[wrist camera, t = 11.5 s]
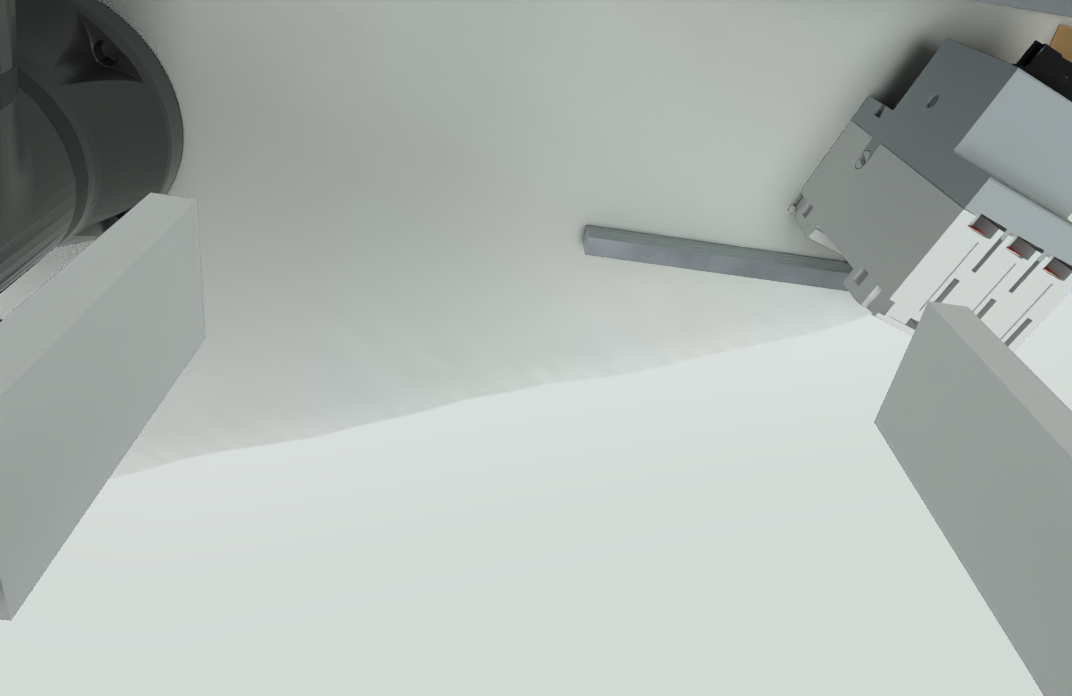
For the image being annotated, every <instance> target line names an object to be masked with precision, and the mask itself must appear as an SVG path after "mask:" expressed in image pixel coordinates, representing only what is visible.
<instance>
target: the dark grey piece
mask: <svg viewBox="0 0 1072 696" xmlns="http://www.w3.org/2000/svg"><path fill="white" fill-rule="evenodd" d="M976 1H981V2H987V3H993V4H999V5H1005V6H1010V7H1016V8H1022V9H1028V10H1033V11H1039V12H1045V13H1051V14H1057V15H1062V16H1068V17H1072V0H976ZM583 244H584V251H585V254H586V255H593V256H600V257H607V258H614V259H621V260H629V261H636V262H643V263H650V264H657V265H664V266H672V267H679V268H686V269H693V270H700V271H707V272H715V273H722V274H729V275H736V276H743V277H750V278H758V279H765V280H772V281H779V282H786V283H794V284H801V285H808V286H815V287H822V288H829V289H837V290H844V291H848V289H847V288H846V287H845V285H844V284H843V282H844V280H845V279H846V278H847V277H848V275H849V274H850V273H851V272H852V270H853V268H852V266H851V265H850V264H849V263H848V262H842V261H835V260H828V259H821V258H814V257H807V256H800V255H793V254H786V253H779V252H772V251H765V250H758V249H751V248H744V247H737V246H730V245H723V244H716V243H709V242H702V241H695V240H688V239H681V238H674V237H667V236H660V235H653V234H646V233H639V232H632V231H625V230H618V229H611V228H604V227H596V226H589V225H586V230H585V235H584V240H583Z"/></svg>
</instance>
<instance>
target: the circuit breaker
mask: <svg viewBox="0 0 1072 696" xmlns="http://www.w3.org/2000/svg"><path fill="white" fill-rule="evenodd" d="M853 121H854V122H853ZM800 193H801V194H802V195H803V198H802V199H801V200H800V202H799V203H798V205H797V206H794V205H793V204H791V205H790V206H789V208H788V209H787V210H788V211H789V212H790V213H792V214H794V215H795V218H794V219H795V220H796V222H797V223H798V224H799V226H800V227H801V228H802V230H803V231H804V232H805V234H806V235H807V236H808V237H809V238H810V239H812V240H814V241H816V242H818V243H820V244H822V245H824V246H825V247H827V248H829V249H831V250H833V251H835V252H837V253H839V254H841V255H842V256H843V257H844V258H845V259H846V260H847V261H848V263H849V264H850V265H851V266H852V268H853V270H852V272H851V273H850V274H849V275H848V277H847V278H846V279H845V280H844V282H843V284H844V285H845V287H846V288H847V289H848V291H849V292H850V293H851V295H852V296H853V297H854V299H855V300H856V301H857V302H858V303H859V304H860V305H862V306H864V307H866V308H867V309H869V310H870V311H871V312H872V315H873V316H875V317H877V318H878V319H880V320H882V321H884V322H886V323H888V324H890V325H892V326H894V327H896V328H898V329H900V330H902V331H904V332H906V333H908V334H910V335H912V336H913V334H914V332H915V330H916V327H917V325H918V323H919V321H920V319H921V316H922V314H923V312H924V310H925V307H926V305H927V303H928V301H931V302H938V303H945V304H952V305H959V306H967V307H969V308H970V309H971V310H972V311H973V313H974V314H975V315H976V316H977V317H978V318H979V319H980V320H981V321H982V322H983V323H984V324H985V325H986V326H987V327H988V328H989V329H990V330H991V331H992V332H993V333H994V334H995V335H996V336H997V337H998V338H999V339H1000V340H1001V341H1002V342H1003V343H1004V344H1005V345H1006V346H1007V347H1008V348H1009V349H1010V350H1011V351H1012V352H1014V351H1015V350H1016V349H1017V348H1018V347H1019V346H1020V345H1021V344H1022V343H1023V342H1024V341H1025V340H1026V338H1028V337H1029V336H1030V334H1031V333H1032V332H1033V331H1034V330H1035V329H1036V328H1037V327H1038V326H1039V325H1040V324H1041V323H1042V322H1043V321H1044V320H1045V319H1046V318H1047V317H1048V315H1050V313H1051V312H1052V311H1053V310H1054V309H1055V308H1056V307H1057V306H1058V305H1059V304H1060V303H1061V302H1062V301H1063V300H1064V298H1066V297H1067V296H1068V295H1069V293H1070V292H1071V291H1072V222H1070V221H1069V220H1067V219H1068V216H1069V215H1070V214H1071V213H1072V63H1071V62H1070V61H1068V60H1066V59H1065V58H1063V57H1062V54H1061V53H1059V52H1058V51H1056V50H1054V49H1053V48H1051V47H1050V46H1048V45H1047V44H1044V45H1043V44H1041V43H1040V42H1038V41H1036V40H1035V41H1034V43H1033V44H1032V45H1031V46H1030V48H1029V49H1028V50H1027V51H1026V52H1025V54H1024V55H1023V56H1022V57H1021V59H1020V60H1019V61H1018V62H1017V64H1013V65H1012V64H1010V63H1007V62H1005V61H1002V60H1000V59H997V58H995V57H992V56H990V55H987V54H985V53H983V52H980V51H978V50H975V49H973V48H970V47H968V46H965V45H963V44H960V43H958V42H956V41H953V40H951V39H948V38H947V39H946V40H945V41H944V43H943V44H942V45H941V47H940V48H939V49H938V51H937V52H936V53H935V55H934V56H933V57H932V59H931V60H930V61H929V63H928V64H927V65H926V67H925V68H924V69H923V71H922V72H921V74H920V75H919V76H918V78H917V79H916V80H915V82H914V83H913V84H912V86H911V87H910V88H909V90H908V91H907V92H906V94H905V95H904V96H903V98H902V99H901V101H900V102H899V103H898V105H897V106H896V107H895V109H894V110H893V109H891V108H889V107H887V106H886V105H884V104H882V103H881V102H879V101H877V100H876V99H874V98H872V97H871V96H868V97H867V99H866V100H865V101H864V103H863V104H862V106H861V107H860V108H859V110H858V111H857V113H856V114H855V115H854V117H853V118H852V120H851V121H850V122H849V124H848V125H847V127H846V128H845V129H844V131H843V132H842V134H841V135H840V136H839V138H838V139H837V141H836V142H835V143H834V145H833V146H832V148H831V149H830V150H829V152H828V153H827V155H826V156H825V157H824V159H823V160H822V162H821V163H820V164H819V166H818V167H817V169H816V170H815V171H814V173H813V174H812V176H811V177H810V178H809V180H808V181H807V183H806V184H805V185H804V187H803V188H802V190H801V191H800ZM809 212H810V213H809Z"/></svg>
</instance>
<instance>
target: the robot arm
mask: <svg viewBox="0 0 1072 696" xmlns="http://www.w3.org/2000/svg"><path fill="white" fill-rule="evenodd" d="M182 146H183V130H182V121H181V116H180V111H179V107H178V103H177V100H176V97H175V94H174V91H173V89H172V86H171V84H170V82H169V80H168V78H167V76H166V74H165V72H164V70H163V68H162V66H161V65H160V63H159V62H158V60H157V58H156V57H155V55H154V54H153V53H152V51H151V50H150V49H149V47H148V46H147V45H146V43H145V42H144V41H143V40H142V39H141V37H140V36H139V35H138V34H137V33H136V32H135V31H134V30H133V29H132V28H131V27H130V26H129V25H128V24H127V23H126V22H125V21H124V20H122V19H121V18H120V17H119V16H118V15H116V14H115V13H114V12H113V11H111V10H110V9H109V8H107V7H106V6H104V5H103V4H101V3H100V2H98V1H97V0H0V293H2V292H3V291H4V290H5V289H6V288H8V287H9V286H10V285H11V284H12V283H14V282H15V281H16V280H17V279H18V278H19V277H21V276H22V275H23V274H24V273H25V272H27V271H28V270H29V269H30V268H31V267H33V266H34V265H35V264H36V263H37V262H38V261H40V260H41V259H42V258H43V257H44V256H46V255H47V254H48V253H49V252H50V251H51V250H53V249H54V248H55V247H58V246H64V245H70V244H75V243H81V242H87V241H92V240H95V241H94V242H93V243H92V244H90V245H89V246H88V247H87V248H86V249H85V250H83V251H82V252H81V253H80V254H79V255H78V256H76V257H75V258H74V259H73V260H72V261H71V262H69V263H68V264H67V265H66V266H65V267H64V268H62V269H61V270H60V271H59V272H58V273H57V274H56V275H54V276H53V277H52V278H51V279H50V280H49V281H47V282H46V283H45V284H44V285H43V286H42V287H40V288H39V289H38V290H37V291H36V292H35V293H33V294H32V295H31V296H30V297H29V298H28V299H26V300H25V301H24V302H23V303H22V304H21V305H19V306H18V307H17V308H16V309H15V310H14V311H13V312H11V313H10V314H9V315H8V316H7V317H6V318H4V319H3V320H0V619H1V620H12V618H13V617H14V615H15V614H16V613H17V611H18V610H19V608H20V607H21V605H22V604H23V602H24V601H25V599H26V598H27V596H28V595H29V594H30V592H31V591H32V589H33V588H34V586H35V585H36V583H37V582H38V580H39V579H40V577H41V576H42V575H43V573H44V572H45V570H46V569H47V567H48V566H49V565H50V563H51V561H52V560H53V559H54V557H55V556H56V554H57V553H58V551H59V550H60V549H61V547H62V546H63V544H64V543H65V541H66V540H67V538H68V537H69V535H70V534H71V533H72V531H73V530H74V528H75V526H76V525H77V524H78V522H79V521H80V519H81V518H82V517H83V515H84V514H85V512H86V511H87V509H88V508H89V506H90V505H91V503H92V502H93V501H94V499H95V498H96V496H97V495H98V493H99V492H100V490H101V489H102V487H103V486H104V485H105V483H106V482H107V480H108V479H109V477H110V476H111V474H112V473H113V471H114V470H115V469H116V467H117V466H118V464H119V463H120V461H121V460H122V458H123V457H124V455H125V454H126V453H127V451H128V450H129V448H130V447H131V445H132V444H133V442H134V441H135V439H136V438H137V437H138V435H139V434H140V432H141V431H142V429H143V428H144V426H145V425H146V423H147V422H148V421H149V419H150V418H151V416H152V415H153V413H154V412H155V410H156V409H157V407H158V406H159V405H160V403H161V402H162V400H163V399H164V397H165V396H166V394H167V393H168V391H169V390H170V389H171V387H172V386H173V384H174V383H175V381H176V380H177V378H178V377H179V375H180V374H181V373H182V371H183V370H184V368H185V367H186V365H187V364H188V362H189V361H190V359H191V358H192V357H193V355H194V354H195V352H196V351H197V349H198V348H199V346H200V345H201V343H202V342H203V341H204V339H205V326H204V309H203V292H202V275H201V259H200V242H199V225H198V209H197V199H193V198H186V197H179V196H172V195H165V194H166V193H167V191H168V190H169V188H170V187H171V185H172V183H173V181H174V179H175V177H176V174H177V171H178V168H179V165H180V161H181V155H182ZM874 423H875V424H876V426H877V427H878V429H879V431H880V432H881V434H882V436H883V437H884V439H885V440H886V442H887V444H888V445H889V447H890V448H891V450H892V452H893V453H894V455H895V457H896V458H897V460H898V461H899V463H900V465H901V466H902V468H903V469H904V471H905V473H906V474H907V476H908V477H909V479H910V481H911V482H912V484H913V486H914V487H915V489H916V490H917V492H918V493H919V495H920V497H921V498H922V500H923V502H924V503H925V505H926V506H927V508H928V510H929V511H930V513H931V515H932V516H933V518H934V519H935V521H936V523H937V524H938V526H939V527H940V529H941V531H942V532H943V534H944V535H945V537H946V539H947V540H948V542H949V543H950V545H951V547H952V548H953V550H954V552H955V553H956V555H957V556H958V558H959V560H960V561H961V563H962V564H963V566H964V568H965V569H966V571H967V572H968V574H969V576H970V577H971V579H972V580H973V582H974V584H975V585H976V587H977V589H978V590H979V592H980V593H981V595H982V597H983V598H984V600H985V601H986V603H987V605H988V606H989V608H990V610H991V611H992V613H993V614H994V616H995V618H996V619H997V621H998V622H999V624H1000V626H1001V627H1002V629H1003V630H1004V632H1005V634H1006V635H1007V637H1008V639H1009V640H1010V642H1011V643H1012V645H1013V647H1014V648H1015V650H1016V651H1017V653H1018V654H1019V656H1020V658H1021V659H1022V661H1023V663H1024V664H1025V666H1026V667H1027V669H1028V671H1029V672H1030V674H1031V675H1032V677H1033V679H1034V680H1035V682H1036V683H1037V685H1038V687H1039V689H1040V690H1041V692H1042V693H1043V695H1044V696H1072V411H1071V410H1070V409H1069V408H1068V407H1067V406H1066V405H1065V404H1064V403H1063V402H1062V401H1061V400H1060V399H1059V398H1058V397H1057V396H1056V395H1055V394H1054V393H1053V392H1052V391H1051V390H1050V389H1049V388H1048V387H1047V386H1046V385H1045V384H1044V383H1043V382H1042V381H1041V380H1040V379H1039V378H1038V377H1037V376H1036V375H1035V374H1034V373H1033V372H1032V371H1031V370H1030V369H1029V368H1028V367H1027V366H1026V365H1025V364H1024V363H1023V362H1022V361H1021V360H1020V359H1019V358H1018V357H1017V356H1016V355H1015V354H1014V353H1013V352H1012V351H1011V350H1010V349H1009V348H1008V347H1007V346H1006V345H1005V344H1004V343H1003V342H1002V341H1001V340H1000V339H999V338H998V337H997V336H996V335H995V334H994V333H993V332H992V331H991V330H990V329H989V328H988V327H987V326H986V325H985V324H984V323H983V322H982V321H981V320H980V319H979V318H978V317H977V316H976V315H975V314H974V313H973V311H972V310H971V309H970V308H969V307H967V306H959V305H952V304H945V303H938V302H931V301H928V303H927V305H926V307H925V310H924V312H923V314H922V316H921V319H920V321H919V323H918V325H917V327H916V330H915V332H914V334H913V336H912V339H911V341H910V343H909V346H908V348H907V350H906V352H905V354H904V357H903V359H902V361H901V363H900V365H899V368H898V370H897V372H896V375H895V377H894V379H893V381H892V383H891V386H890V388H889V390H888V392H887V395H886V397H885V399H884V401H883V404H882V406H881V408H880V410H879V412H878V415H877V417H876V419H875V421H874Z"/></svg>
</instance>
